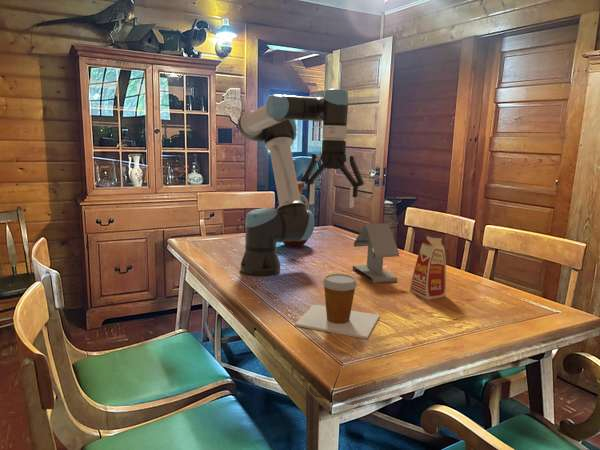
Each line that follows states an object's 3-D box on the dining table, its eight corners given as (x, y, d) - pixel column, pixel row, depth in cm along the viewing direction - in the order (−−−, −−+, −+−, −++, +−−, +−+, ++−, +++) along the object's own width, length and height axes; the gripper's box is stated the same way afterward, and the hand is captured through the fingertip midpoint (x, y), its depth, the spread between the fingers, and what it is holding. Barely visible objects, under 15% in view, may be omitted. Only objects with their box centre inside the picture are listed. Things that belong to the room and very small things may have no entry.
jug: (292, 239, 230) (294, 179, 224) (322, 244, 220) (324, 182, 214) (267, 245, 214) (268, 181, 209) (298, 252, 204) (300, 185, 198)
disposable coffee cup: (354, 327, 124) (356, 285, 122) (319, 324, 125) (320, 282, 123) (356, 314, 133) (358, 274, 131) (323, 311, 135) (324, 272, 132)
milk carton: (427, 299, 149) (432, 239, 145) (408, 290, 157) (412, 233, 153) (448, 296, 153) (453, 237, 150) (428, 287, 161) (433, 231, 158)
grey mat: (294, 325, 125) (295, 323, 125) (314, 306, 140) (314, 304, 140) (367, 339, 119) (367, 336, 118) (379, 317, 133) (379, 315, 133)
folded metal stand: (397, 282, 166) (401, 228, 163) (373, 284, 164) (376, 229, 160) (374, 268, 184) (377, 218, 180) (352, 269, 181) (355, 219, 177)
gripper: (293, 138, 147) (291, 203, 151) (370, 140, 139) (366, 210, 143) (301, 138, 154) (299, 201, 158) (375, 140, 146) (371, 207, 150)
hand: (331, 205), depth 151 cm, fingers open, 13 cm apart
